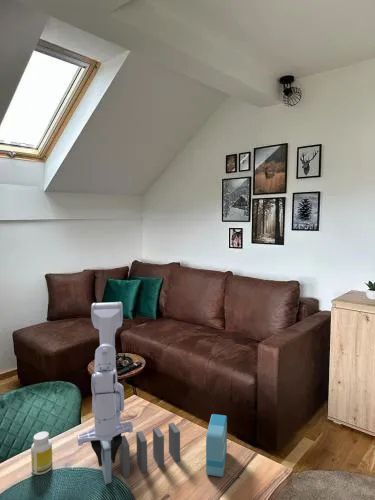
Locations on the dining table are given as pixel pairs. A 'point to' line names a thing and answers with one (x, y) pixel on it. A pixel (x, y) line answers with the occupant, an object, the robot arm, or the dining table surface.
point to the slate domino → (106, 462)
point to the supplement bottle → (41, 453)
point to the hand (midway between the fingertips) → (106, 462)
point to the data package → (216, 445)
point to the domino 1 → (125, 457)
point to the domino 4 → (174, 442)
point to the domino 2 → (141, 451)
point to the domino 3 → (158, 446)
